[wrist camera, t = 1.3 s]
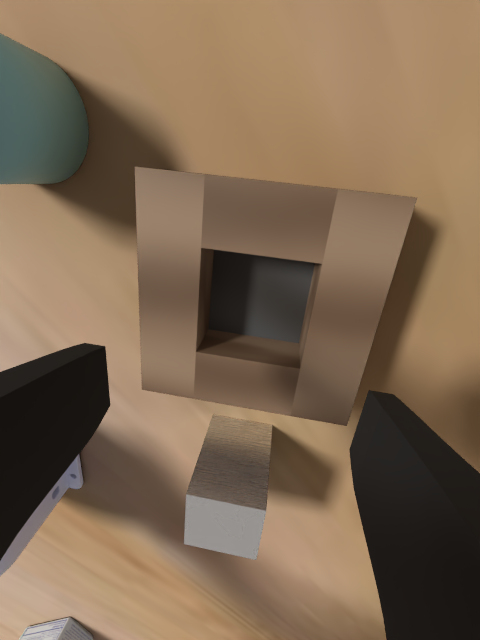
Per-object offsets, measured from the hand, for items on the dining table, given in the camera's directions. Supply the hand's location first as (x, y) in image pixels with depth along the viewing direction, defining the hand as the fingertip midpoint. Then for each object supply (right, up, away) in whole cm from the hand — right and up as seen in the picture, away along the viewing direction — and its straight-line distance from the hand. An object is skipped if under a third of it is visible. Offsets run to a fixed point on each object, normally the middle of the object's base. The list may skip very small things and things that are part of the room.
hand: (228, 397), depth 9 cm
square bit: (0, -6, +13) cm, 15 cm away
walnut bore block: (+1, +4, +9) cm, 9 cm away
